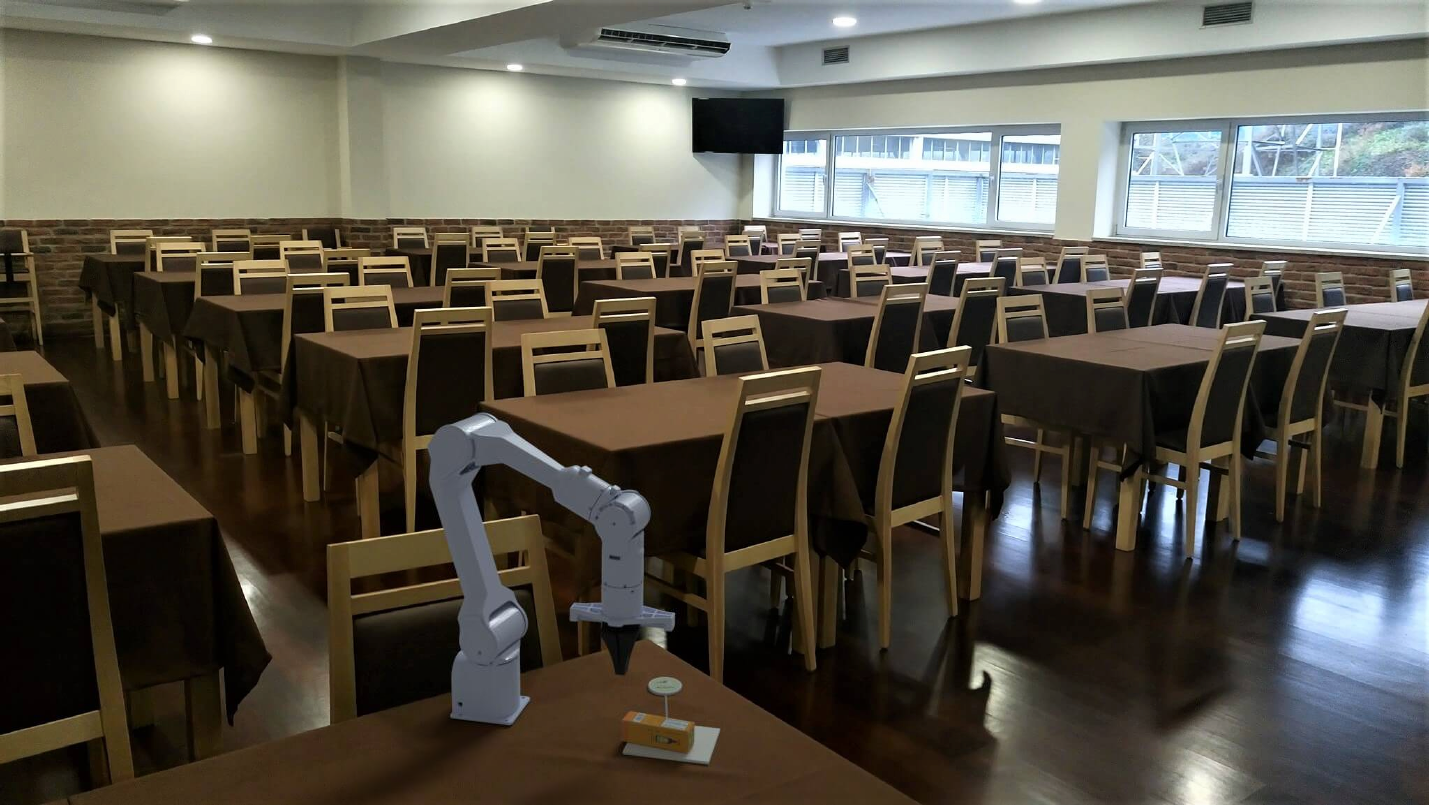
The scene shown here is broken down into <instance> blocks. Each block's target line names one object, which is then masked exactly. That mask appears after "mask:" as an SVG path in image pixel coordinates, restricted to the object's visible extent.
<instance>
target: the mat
mask: <svg viewBox="0 0 1429 805" xmlns="http://www.w3.org/2000/svg"><path fill="white" fill-rule="evenodd" d="M720 732H721V728H717V727H710V726H700V725H699V726H698V725H695V733H694V744H693V746H692V747H691V749H690V750H689V752H688V753H682V752H677V751H672V750H667V749H662V748H656V747H651V746H646V745H640V744H635V743H630V742H626V745H625V747H624V748H623V751H622V755H629V756H635V757H644V758H645V757H646V758H651V759H652V758H654V759H660V760H661V759H662V760H669V761H677V762H684V763H685V762H686V763H692V764H694V763H695V764H701V765H710V762H711V759H712V755H713V752H714V750H715V747H716V743H717V741H718V739H719V735H720Z"/></svg>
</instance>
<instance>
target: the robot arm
mask: <svg viewBox="0 0 1429 805" xmlns="http://www.w3.org/2000/svg"><path fill="white" fill-rule="evenodd" d="M426 448H427V451H428V454H429V457H430V466H429V477H428V482H429V487H430V490H431V493H432V496H433V500H434V503H435V506H436V509H437V512H438V516H439V520H440V522H441V526H442V529H443V532H444V535H445V539H446V542H447V546H448V547H449V552H450V555H451V558H452V559H451V560H452V561H453V565H454V568H455V570H456V574H457V578H458V581H459V583H460V588H461V591H462V594H463V597H464V598H463V602H462V603H461V607H460V610H459V613H458V615H457V621H458V625H459V638H458V639H459V640H458V641H459V646H460V647H459V648H460V649H461V650H460V651H459V652H458V653H457V655H456V656H455V659H454V661H453V664H452V670H451V703H452V708H451V709H452V711H451V713H450V719H457V720H464V721H472V722H479V723H489V724H497V725H507V726H511V725H513V724H514V723H515V721H516V720H517V718H518V717H519V716H520V714H521V713H522V712H523V710H524V709H525V707H526V706H527V705H528V703H529V702H530V701H531V698H530V696H525V695H521V669H520V668H521V667H520V666H521V665H520V663H521V662H520V661H521V660H520V658H521V657H520V647H521V638H523V637H524V636H525V635H526V632H527V630H528V627H529V620H528V617H527V613H526V612H525V610H524V608H522V607H521V605H520V604H519V603H518V601H517V598H516V596H515V593H514V591H513V590H512V589H510V588H508V587H506V586H504V585H502V581H501V579H500V576H499V572H498V569H497V565H496V563H495V560H494V556H493V553H492V550H491V545H490V543H489V539H488V536H487V533H486V529H485V526H484V523H483V520H482V515H481V513H480V510H479V506H478V503H477V499H476V496H475V493H474V491H473V486H472V483H473V480H474V479H475V478H476V476H477V474H478V472H480V470H481V468H482V466H488V465H496V464H504V465H506V466H508V467H510V468H512V469H514V470H515V471H518V472H519V473H521V474H523V475H525V476H527V477H528V478H531V479H532V480H535V481H536V482H538V483H540V484H542V485H543V486H546V487H548V488H550V489H551V492H552V496H553V498H554V501H555V502H557V503H558V504H560V505H561V506H563V507H565V508H566V509H568V510H570V511H571V512H573V513H575V514H576V515H578V516H579V517H581V518H583V519H584V520H586V521H588V522H589V523H591V524H592V525H594V528H595V531H596V533H597V535H598V536H599V537H600V539H601V542H602V543H601V602H589V603H582V602H581V603H580V602H574V603H573V604H572V605H571V607H570V608H569V622H579V621H586V622H595V623H597V622H599V623H601V628H600V630H599V636H600V638H601V639H602V640H603V642H604V644H605V646H606V648H607V650H608V653H609V655H610V658H611V660H612V665H613V669H614V675H617V676H625V675H626V674H627V672H628V670H629V665H630V661H631V656H632V652H633V649H634V646H635V645H636V642H637V639H638V637H639V635H640V632H641V631H642V628H644V627H647V628H657V629H663V631H665V632H672V631H673V630H674V627H675V624H676V623H675V621H676V620H675V618H676V616H675V615H676V613H675V612H672V611H671V612H669V611H665V610H660V609H657V608H653V607H649V606H646V605H644V567H645V566H644V561H645V560H644V556H645V555H644V554H645V548H644V546H645V543H644V542H645V539H644V538H645V531H644V529H645V527H646V526H647V525H648V523H649V522H650V520H651V514H652V513H651V512H652V511H651V507H650V505H649V504H650V503H648V501H647V499H646V498H645V497H644V496H643V495H641V494H640V493H639V491H637V490H633V489H625V490H622V489H621V487H620V486H618V485H616V484H615V485H612V484H609V483H608V482H606V481H605V480H603V479H602V478H599V477H597V476H596V475H595V474H593V473H592V472H593V469H592V468H590V467H588V466H587V465H584V466H582V467H581V466H579V465H572V466H568V467H565V466H564V465H562V464H560V463H559V462H558V461H556V460H555V459H553V458H552V457H550V456H548V455H547V454H546V453H545V452H543V451H542V450H540V449H538V448H537V447H536V446H534V445H533V444H531V443H530V442H528V441H526V440H525V439H524V438H522V437H521V436H520V435H518V434H517V433H516V432H515V431H513V429H512V428H511V427H510V425H509V424H508V423H507V422H505V421H503V420H499V419H498V418H496V417H495V416H493V415H492V414H490V413H488V412H478V413H476V414H473V415H472V416H471V417H468V418H465V419H462V420H459V421H457V422H455V423H452V424H445V425H443V426H441V427H440V428H438V429H436V431H435V433H434V434H433V435H432V438H431V439H430V441H429V442H428V443H427V445H426Z"/></svg>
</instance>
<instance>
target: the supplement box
mask: <svg viewBox="0 0 1429 805" xmlns="http://www.w3.org/2000/svg"><path fill="white" fill-rule="evenodd" d="M695 726H696V724H695V722H694V721H688V720H684V719H676V718H672V717H668V718H667V717H666V716H662V715H655V714H649V713H644V712H643V713H642V712H637V711H632V710H631V711H630V710H629V711H628V712H627V713H626V714H625V716H624V717H623V718H622V720H621V736H620V737H621V739H620V740H621V741H622V742H626V743H627V742H630V743H635V744H640V745H646V746H651V747H656V748H662V749H667V750H672V751H677V752H682V753H688V752H689V750H690V749H691V747H692V746H693V744H694V733H695Z"/></svg>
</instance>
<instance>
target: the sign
mask: <svg viewBox="0 0 1429 805" xmlns="http://www.w3.org/2000/svg"><path fill="white" fill-rule="evenodd" d="M682 689H683V684H682V682H681V681H680V680H678V679H677V678H674V677H669V676H661V677H660V676H659V677H655V678H653V679H651V680H650V681H649V682H648V691H649V692H650V693H652V694H654V695H658V696H662V697H664V711H665V717H667V718H669V716H668V714H669V712H668V709H669V708H668V696H669V697H670V696H674V695H677V694H679V693H680V692H681V691H682Z"/></svg>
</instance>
